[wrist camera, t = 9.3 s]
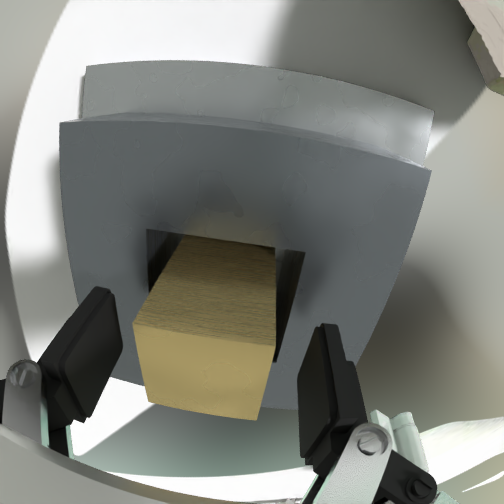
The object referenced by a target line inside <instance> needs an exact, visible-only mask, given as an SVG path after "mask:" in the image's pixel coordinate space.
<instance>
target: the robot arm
mask: <svg viewBox="0 0 504 504" xmlns="http://www.w3.org/2000/svg"><path fill="white" fill-rule="evenodd" d="M122 350H123V341H122V336H121V331H120V325H119V319H118V314H117V307H116V301H115V295H114V294H113V293H111V290H110V289H108V288H103V287H99V286H95V287H94V288H93V289H92V290H91V292H90V293H89V294H88V295H87V297H86V298H85V299H84V300H83V302H82V303H81V304H80V305H79V307H78V308H77V309H76V311H75V312H74V313H73V314H72V316H71V317H70V318H69V319H68V320H67V321H66V323H65V324H64V325H63V327H62V328H61V329H60V331H59V332H58V333H57V335H56V336H55V338H54V339H53V340H52V342H51V343H50V345H49V346H48V347H47V349H46V350H45V352H44V353H43V354H42V356H41V357H40V359H39V360H38V362H37V363H36V362H35V361H32V360H27V359H24V360H19V361H18V362H16V363H14V364H13V365H12V366H11V367H10V368H9V370H8V372H7V375H6V379H3V380H0V504H255V503H243V502H233V501H225V500H217V499H211V498H204V497H198V496H193V495H187V494H182V493H178V492H173V491H169V490H164V489H160V488H156V487H152V486H149V485H145V484H141V483H138V482H134V481H131V480H128V479H125V478H122V477H118V476H115V475H113V474H110V473H107V472H104V471H101V470H98V469H96V468H93V467H91V466H88V465H86V464H83V463H80V462H78V461H76V460H74V455H73V448H72V440H71V431H70V425H71V424H72V422H73V420H77V421H79V422H82V423H84V422H85V420H86V418H87V417H88V418H89V417H91V415H92V414H93V411H94V409H95V407H96V405H97V403H98V400H99V398H100V396H101V394H102V392H103V390H104V388H105V386H106V384H107V381H108V379H109V377H110V375H111V373H112V371H113V369H114V367H115V365H116V363H117V361H118V359H119V357H120V355H121V353H122ZM297 394H298V414H299V437H300V456H301V458H305V465H313V471H314V472H315V473H316V474H317V475H316V477H315V479H314V480H313V482H312V484H311V486H310V487H309V489H308V491H307V492H306V494H305V495H304V497H303V499H302V500H301V502H300V503H299V504H460V503H458V502H457V501H456V500H454V499H453V498H452V497H450V496H449V495H448V494H447V493H445V492H444V491H441V492H439V491H438V490H437V484H436V481H435V480H434V478H433V477H432V476H431V475H430V474H429V473H427V472H426V471H424V470H422V469H421V468H419V467H418V466H416V465H415V464H413V463H412V462H410V461H409V460H407V459H406V458H404V457H403V456H401V455H400V454H399V453H397V452H396V451H394V450H393V449H392V445H393V442H392V437H391V435H390V434H389V432H388V431H387V430H386V429H385V428H384V427H382V426H380V425H379V424H375V423H368V420H367V416H366V411H365V406H364V402H363V397H362V393H361V389H360V384H359V380H358V376H357V372H356V368H355V365H354V362H353V361H346V357H345V352H344V348H343V344H342V340H341V336H340V332H339V327H338V325H337V324H328V323H322V324H321V325H320V327H318V326H316V327H315V329H314V332H313V334H312V337H311V340H310V343H309V346H308V348H307V351H306V354H305V357H304V359H303V362H302V365H301V367H300V370H299V372H298V376H297Z"/></svg>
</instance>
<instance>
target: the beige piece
mask: <svg viewBox="0 0 504 504" xmlns="http://www.w3.org/2000/svg"><path fill="white" fill-rule="evenodd" d="M458 1H459V2H460V4H461V6H462V7H463V8H464V9H465V11H466V14H467V15H468V16H469V18H470V20H471V22H472V23H473V24H474V26H475V27H474V29H473V32H472V34H471V36H470V38H469V40H468V42H467V44H468V46H469V48H470V50H471V52H472V54H473V56H474V58H475V60H476V63H477V65H478V67H479V69H480V71H481V74H482V76H483V78H484V81H485V83H486V86H487V87H488V88H489V89H490V90H492V91H494V92H496V93H499V94H501V95H503V96H504V0H458Z"/></svg>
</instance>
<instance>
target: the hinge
mask: <svg viewBox="0 0 504 504" xmlns="http://www.w3.org/2000/svg"><path fill="white" fill-rule="evenodd" d="M370 415H371V420H372V423H375V424H379V425H380V426H382V427H384V428H385V429H386V430H387V431H388V432H389V434H390V435H391V437H392V442H393V445H392V449H393V450H394V451H396V452H397V453H399V454H400V455H401V456H403V457H404V458H406V459H407V460H409V461H410V462H412V463H413V464H415V465H416V466H418V467H419V468H421V469H422V470H424V471H426V472H427V473H428V471H429V468H428V464H427V461H426V457H425V453H424V449H423V446H422V442H421V439H420V435H419V432H418V429H417V427H416V426H415V424H414V421H413V417H412V413H410V412H404V413H400V414H398V415H396V416H394V417H393V418H388V417H387V416H385V415H384V414H382V413H381V412H379V411H378V410H374V411H372V412H370Z"/></svg>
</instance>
